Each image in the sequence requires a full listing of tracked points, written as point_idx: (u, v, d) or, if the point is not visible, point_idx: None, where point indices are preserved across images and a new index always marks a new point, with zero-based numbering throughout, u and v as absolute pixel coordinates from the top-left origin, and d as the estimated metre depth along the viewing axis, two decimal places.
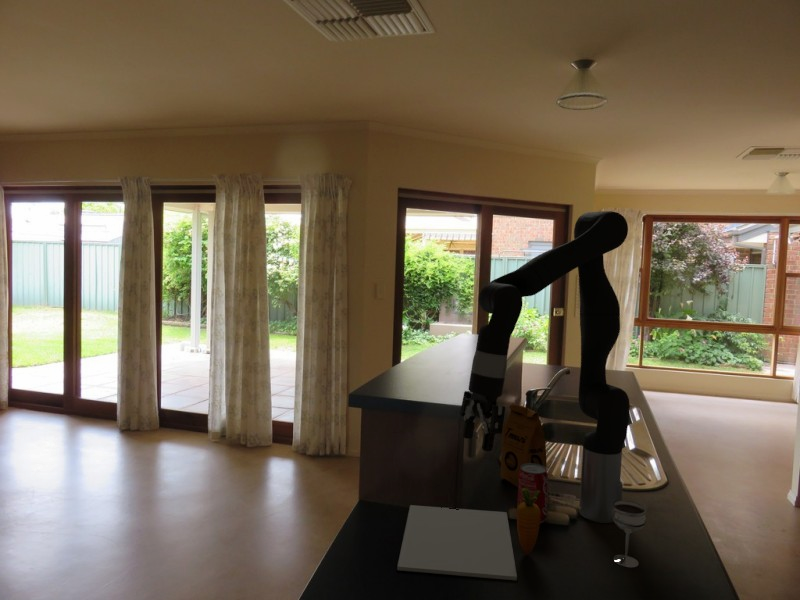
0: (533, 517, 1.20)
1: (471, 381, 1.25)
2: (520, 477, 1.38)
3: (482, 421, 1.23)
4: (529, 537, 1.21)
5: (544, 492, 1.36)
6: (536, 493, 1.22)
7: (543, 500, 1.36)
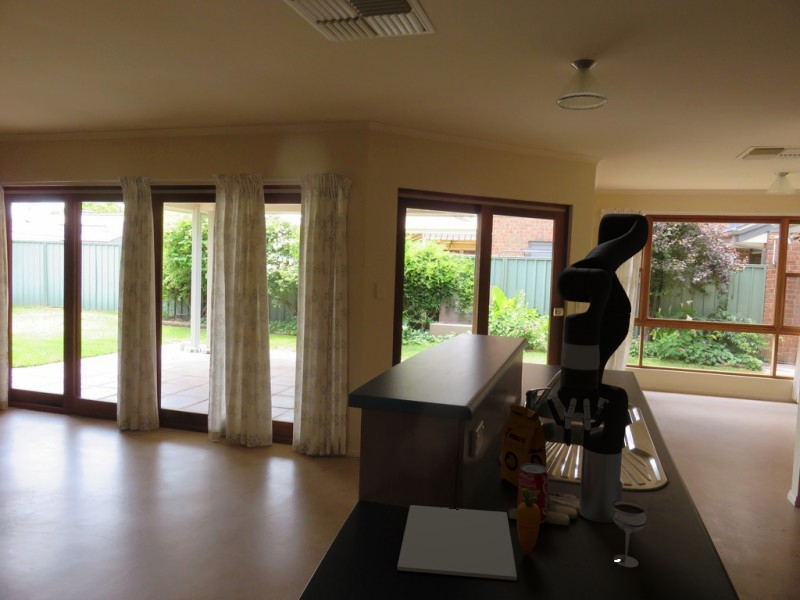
0: (533, 517, 1.20)
1: (582, 379, 1.15)
2: (520, 477, 1.38)
3: (587, 418, 1.18)
4: (529, 537, 1.21)
5: (544, 492, 1.36)
6: (536, 493, 1.22)
7: (543, 500, 1.36)
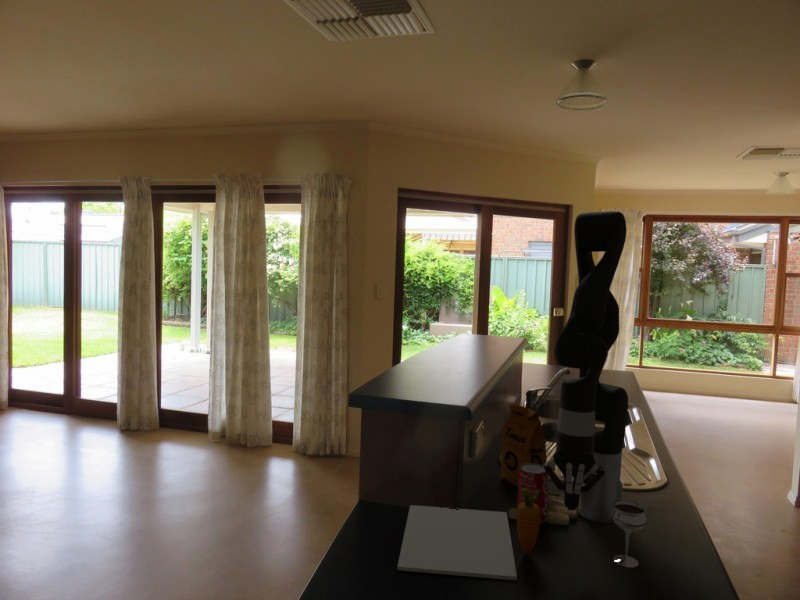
0: (533, 517, 1.20)
1: (578, 445, 1.16)
2: (520, 477, 1.38)
3: (578, 482, 1.19)
4: (529, 537, 1.21)
5: (544, 492, 1.36)
6: (536, 493, 1.22)
7: (543, 500, 1.36)
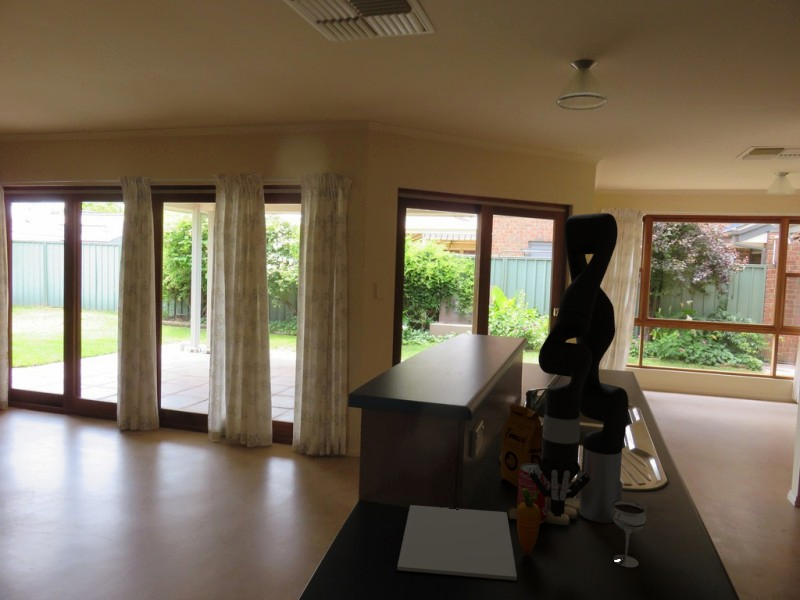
0: (533, 517, 1.20)
1: (563, 452, 1.17)
2: (520, 477, 1.38)
3: (564, 489, 1.19)
4: (529, 537, 1.21)
5: None
6: (536, 493, 1.22)
7: (543, 500, 1.36)
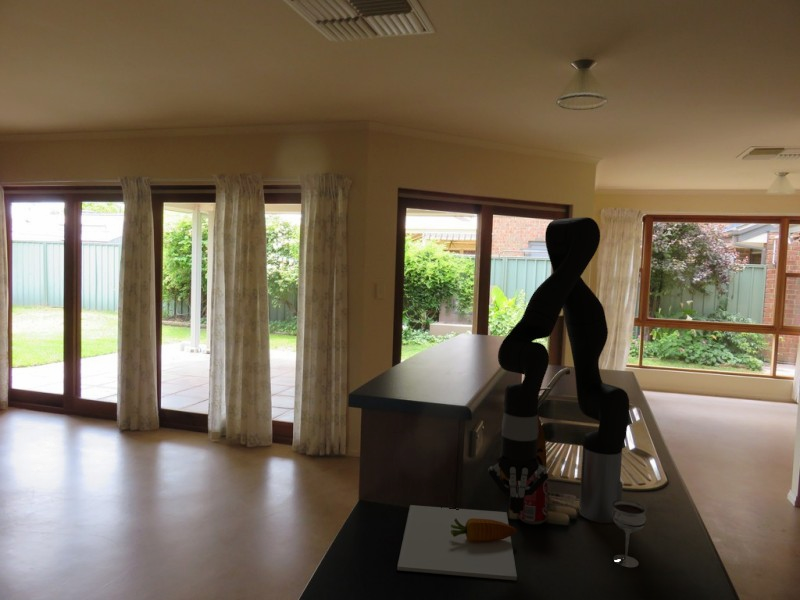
0: (473, 519, 1.27)
1: (520, 449, 1.18)
2: None
3: (522, 486, 1.20)
4: (494, 522, 1.27)
5: (544, 492, 1.36)
6: (453, 526, 1.28)
7: (543, 500, 1.36)
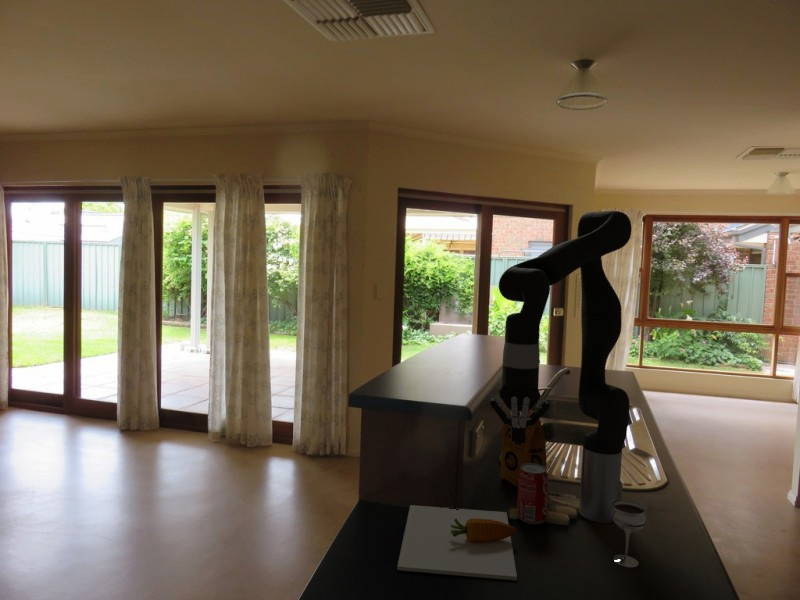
0: (473, 519, 1.27)
1: (521, 377, 1.16)
2: (520, 477, 1.38)
3: (524, 416, 1.19)
4: (494, 522, 1.27)
5: (544, 492, 1.36)
6: (453, 526, 1.28)
7: (543, 500, 1.36)
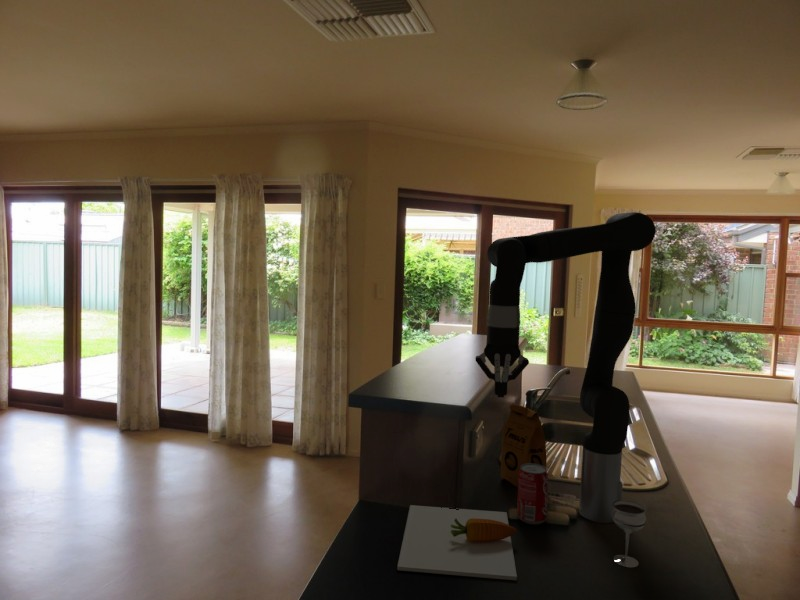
0: (473, 519, 1.27)
1: (503, 335, 1.30)
2: (520, 477, 1.38)
3: (506, 371, 1.33)
4: (494, 522, 1.27)
5: (544, 492, 1.36)
6: (453, 526, 1.28)
7: (543, 500, 1.36)
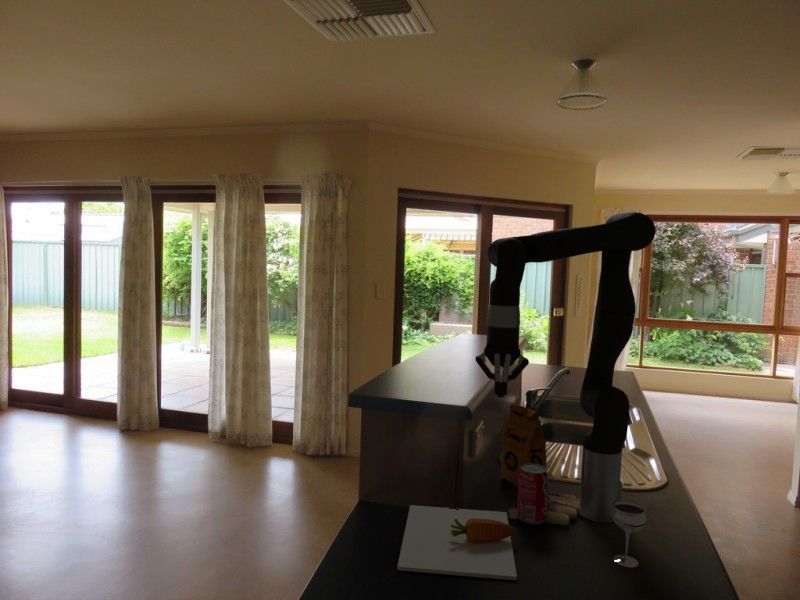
0: (473, 519, 1.27)
1: (503, 335, 1.30)
2: (520, 477, 1.38)
3: (506, 371, 1.33)
4: (494, 522, 1.27)
5: (544, 492, 1.36)
6: (453, 526, 1.28)
7: (543, 500, 1.36)
